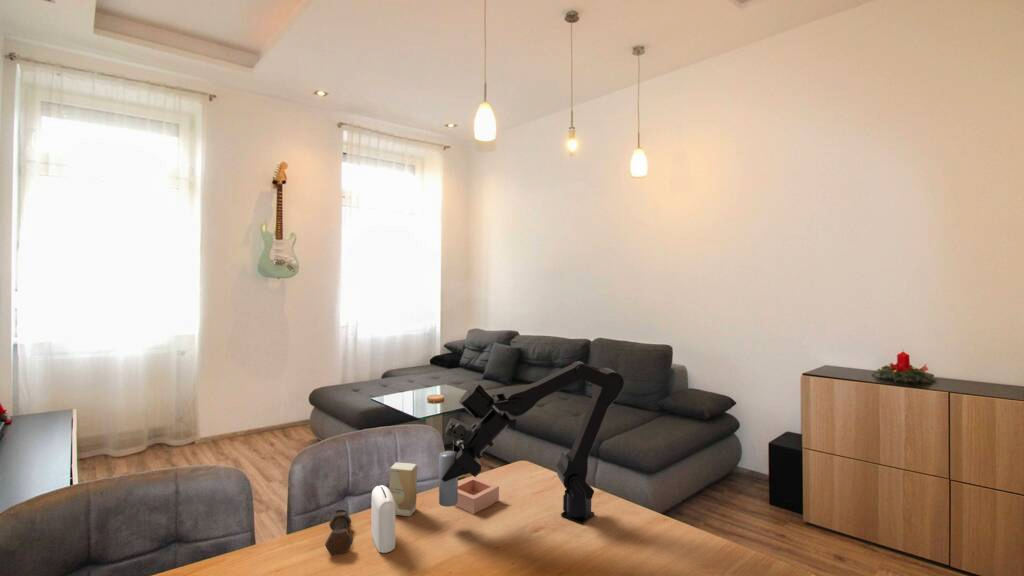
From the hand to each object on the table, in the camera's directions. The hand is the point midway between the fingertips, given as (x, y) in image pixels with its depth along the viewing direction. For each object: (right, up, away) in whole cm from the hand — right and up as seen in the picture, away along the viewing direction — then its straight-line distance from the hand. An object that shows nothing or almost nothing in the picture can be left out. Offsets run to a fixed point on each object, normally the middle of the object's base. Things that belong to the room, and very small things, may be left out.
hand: (442, 476), depth 121 cm
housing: (+6, -12, +13) cm, 19 cm away
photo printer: (-13, -13, -7) cm, 20 cm away
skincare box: (-11, -12, +7) cm, 18 cm away
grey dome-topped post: (+1, -7, 0) cm, 7 cm away
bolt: (-23, -13, -5) cm, 27 cm away
